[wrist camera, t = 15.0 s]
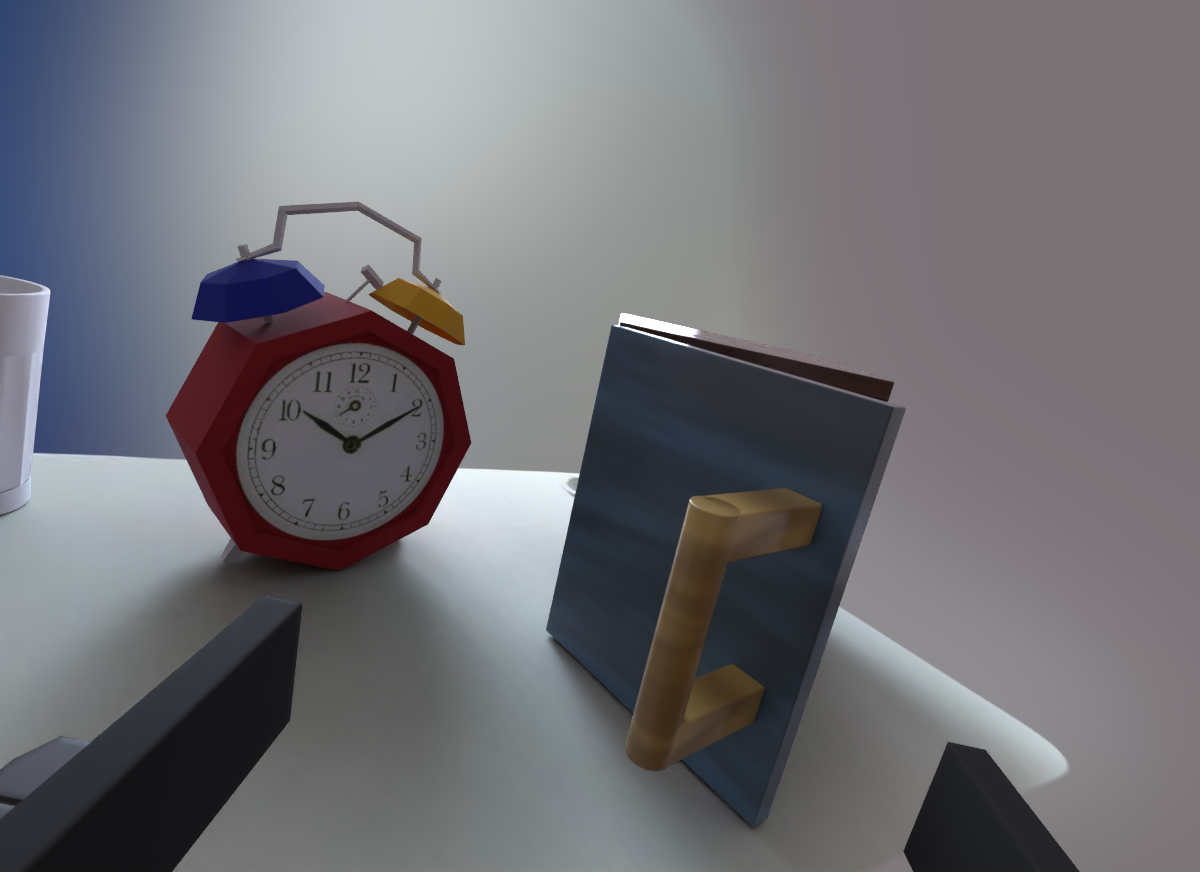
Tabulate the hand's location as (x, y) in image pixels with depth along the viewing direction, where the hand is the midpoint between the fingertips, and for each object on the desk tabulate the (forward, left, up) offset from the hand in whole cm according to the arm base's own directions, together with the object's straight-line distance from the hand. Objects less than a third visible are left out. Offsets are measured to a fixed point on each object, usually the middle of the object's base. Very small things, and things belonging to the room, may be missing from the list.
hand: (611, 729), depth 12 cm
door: (-1, -13, -10) cm, 16 cm away
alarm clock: (+17, -24, -10) cm, 31 cm away
